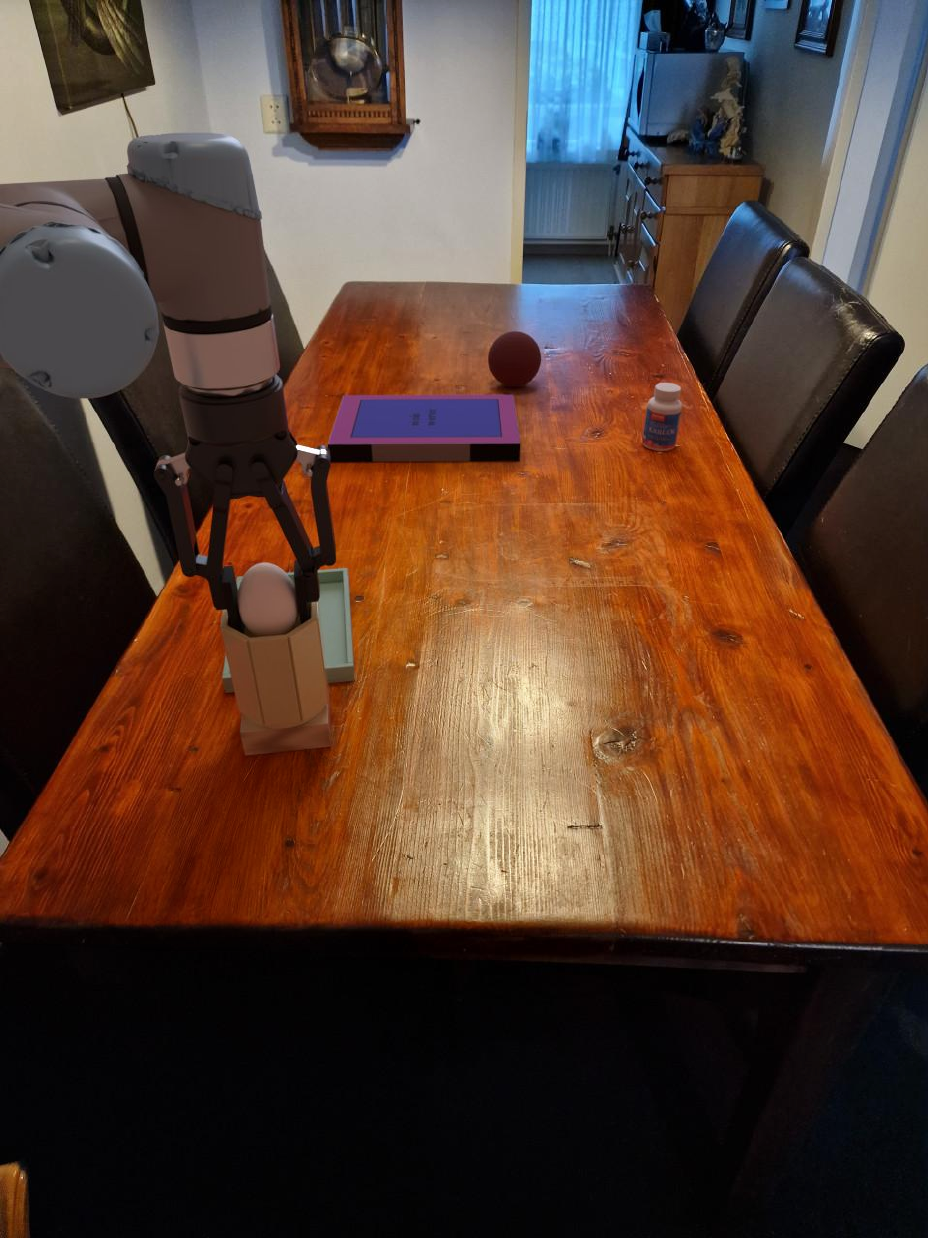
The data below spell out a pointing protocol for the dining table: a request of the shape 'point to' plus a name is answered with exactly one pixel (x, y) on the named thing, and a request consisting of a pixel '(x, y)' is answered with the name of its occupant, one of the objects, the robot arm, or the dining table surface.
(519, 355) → the decorative ball
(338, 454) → the book
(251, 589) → the egg
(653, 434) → the pill bottle
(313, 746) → the block
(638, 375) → the dining table surface
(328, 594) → the tray
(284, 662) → the cup
